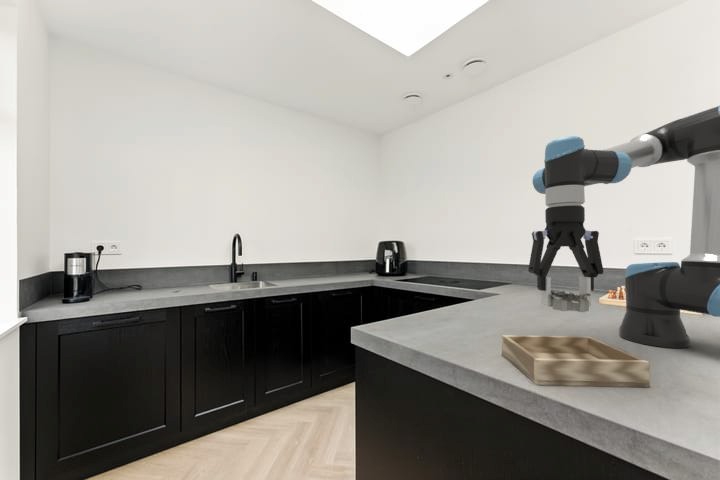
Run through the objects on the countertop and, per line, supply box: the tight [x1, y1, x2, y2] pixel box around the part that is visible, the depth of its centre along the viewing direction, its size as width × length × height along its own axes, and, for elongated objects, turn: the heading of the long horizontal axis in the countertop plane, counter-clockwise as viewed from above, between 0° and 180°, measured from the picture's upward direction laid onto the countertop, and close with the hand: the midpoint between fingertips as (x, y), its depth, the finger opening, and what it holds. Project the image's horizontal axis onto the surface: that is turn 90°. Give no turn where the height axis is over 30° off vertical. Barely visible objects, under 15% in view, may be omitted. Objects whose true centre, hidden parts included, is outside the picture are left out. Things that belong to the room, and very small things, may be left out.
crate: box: [501, 334, 651, 388], centre depth 70 cm, size 22×17×5 cm
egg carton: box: [548, 289, 590, 313], centre depth 70 cm, size 11×8×4 cm
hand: (565, 304), depth 70 cm, fingers closed on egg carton, 8 cm apart
